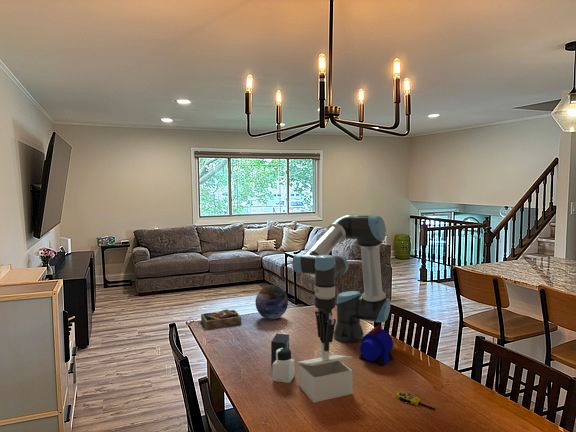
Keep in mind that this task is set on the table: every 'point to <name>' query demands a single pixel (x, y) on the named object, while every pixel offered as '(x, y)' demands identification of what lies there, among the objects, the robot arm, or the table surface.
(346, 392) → the carton
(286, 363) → the medicine bottle
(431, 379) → the table surface
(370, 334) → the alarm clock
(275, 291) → the decorative sphere
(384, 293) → the robot arm
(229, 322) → the filled wooden tray
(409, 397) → the yellow black screwdriver
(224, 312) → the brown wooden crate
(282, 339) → the small box
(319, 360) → the lid
